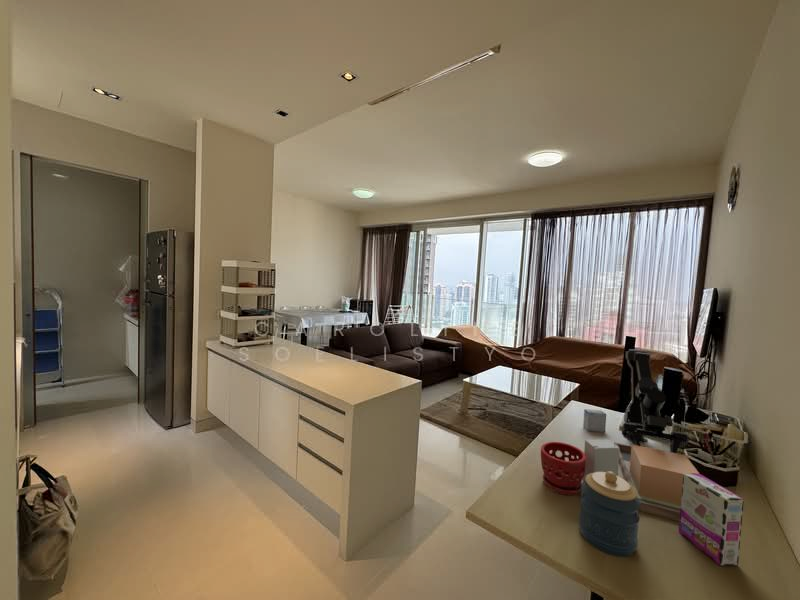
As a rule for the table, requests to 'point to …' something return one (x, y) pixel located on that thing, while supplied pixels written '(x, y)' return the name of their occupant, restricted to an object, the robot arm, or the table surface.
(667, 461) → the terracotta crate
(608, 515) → the canister
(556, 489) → the plant pot
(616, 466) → the skincare box
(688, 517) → the candy bar box
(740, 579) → the table surface
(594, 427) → the medicine box
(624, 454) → the tray
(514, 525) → the table surface
